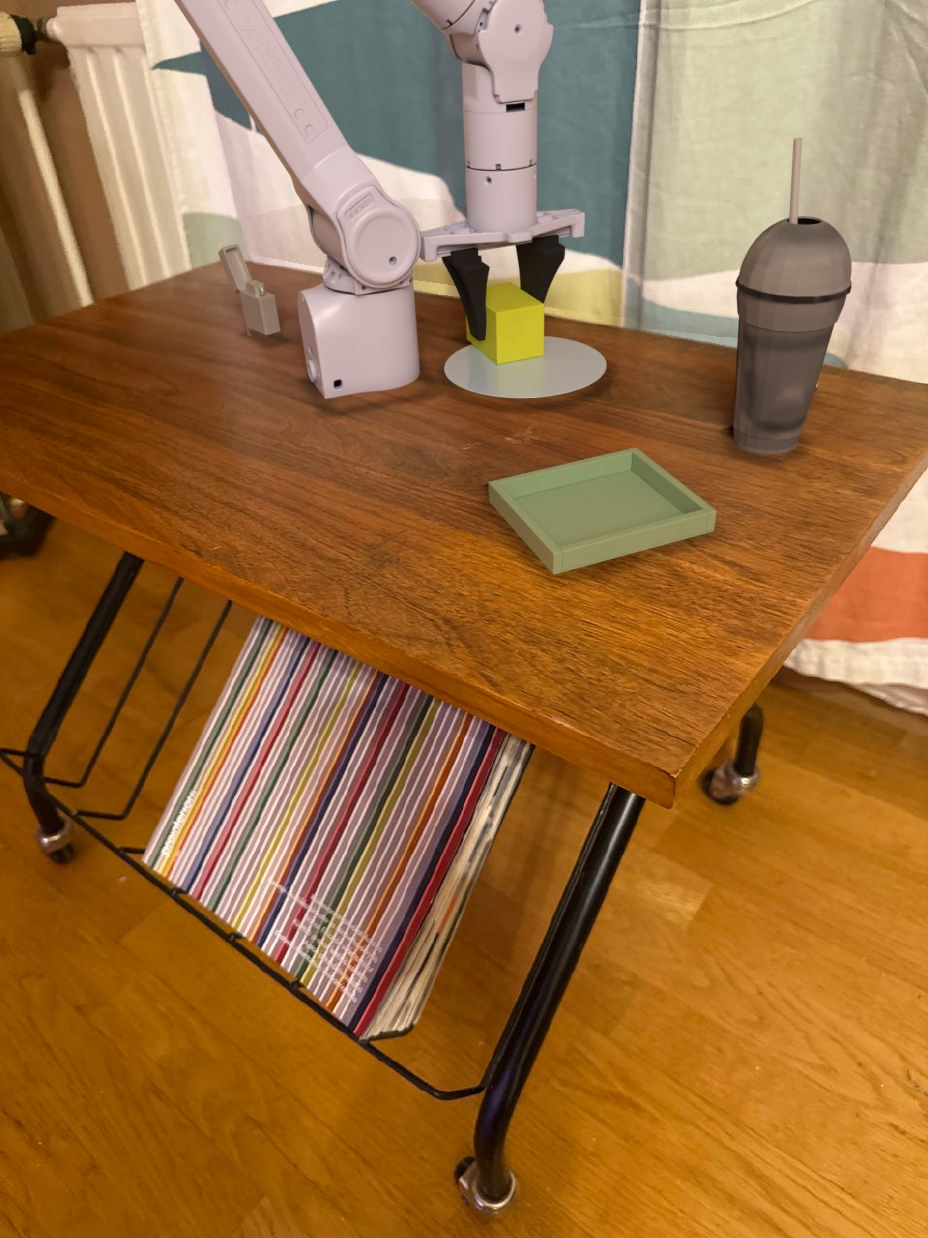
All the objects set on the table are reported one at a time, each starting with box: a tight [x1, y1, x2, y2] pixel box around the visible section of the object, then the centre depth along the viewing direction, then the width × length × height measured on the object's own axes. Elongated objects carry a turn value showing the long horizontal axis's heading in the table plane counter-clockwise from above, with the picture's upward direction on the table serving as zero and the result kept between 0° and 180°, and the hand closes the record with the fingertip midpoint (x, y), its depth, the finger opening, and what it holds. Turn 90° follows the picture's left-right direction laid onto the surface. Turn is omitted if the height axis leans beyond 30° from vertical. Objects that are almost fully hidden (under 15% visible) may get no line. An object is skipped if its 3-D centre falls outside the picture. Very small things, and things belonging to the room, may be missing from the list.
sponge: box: [465, 281, 545, 365], centre depth 79 cm, size 4×7×4 cm, turn 22°
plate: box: [443, 335, 608, 399], centre depth 78 cm, size 14×14×1 cm
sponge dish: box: [488, 446, 718, 575], centre depth 58 cm, size 11×10×2 cm
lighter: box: [217, 243, 282, 338], centre depth 87 cm, size 7×2×8 cm, turn 40°
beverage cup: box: [732, 137, 853, 455], centre depth 60 cm, size 7×7×20 cm
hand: (503, 332), depth 80 cm, fingers closed on sponge, 4 cm apart
